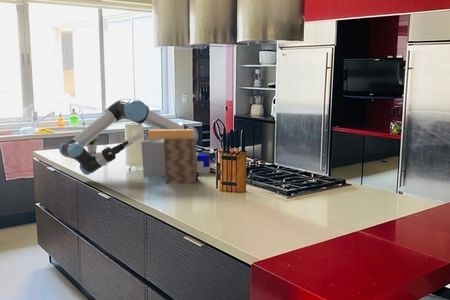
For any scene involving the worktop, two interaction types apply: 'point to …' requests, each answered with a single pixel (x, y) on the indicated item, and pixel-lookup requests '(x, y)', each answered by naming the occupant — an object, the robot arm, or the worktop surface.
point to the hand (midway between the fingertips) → (137, 136)
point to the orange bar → (171, 134)
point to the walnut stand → (180, 160)
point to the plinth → (153, 158)
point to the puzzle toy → (203, 162)
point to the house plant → (92, 146)
